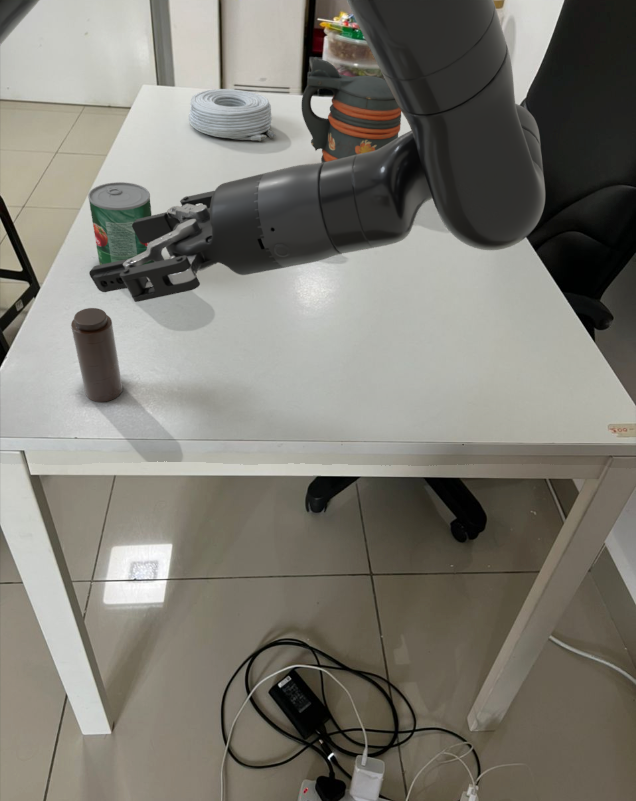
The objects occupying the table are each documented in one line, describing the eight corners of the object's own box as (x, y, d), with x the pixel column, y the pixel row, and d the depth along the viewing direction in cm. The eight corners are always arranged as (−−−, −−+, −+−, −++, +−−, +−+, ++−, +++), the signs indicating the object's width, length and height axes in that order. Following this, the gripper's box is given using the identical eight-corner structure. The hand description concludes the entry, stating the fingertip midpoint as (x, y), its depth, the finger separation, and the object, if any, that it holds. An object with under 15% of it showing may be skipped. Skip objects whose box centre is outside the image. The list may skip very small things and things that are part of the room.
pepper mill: (92, 406, 70) (76, 331, 64) (80, 385, 73) (64, 311, 66) (127, 395, 72) (116, 321, 65) (115, 375, 74) (102, 301, 68)
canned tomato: (166, 273, 92) (160, 200, 85) (114, 288, 88) (103, 212, 81) (141, 249, 96) (133, 178, 89) (90, 262, 92) (78, 188, 85)
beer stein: (299, 189, 117) (306, 70, 104) (296, 158, 128) (302, 47, 115) (401, 194, 119) (421, 78, 106) (390, 163, 130) (406, 54, 116)
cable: (277, 142, 133) (279, 112, 129) (192, 143, 130) (191, 111, 125) (263, 114, 146) (264, 85, 142) (185, 113, 142) (184, 84, 138)
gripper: (287, 141, 55) (130, 182, 60) (238, 217, 44) (54, 258, 50) (314, 221, 59) (165, 252, 65) (275, 307, 49) (102, 335, 55)
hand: (117, 255), depth 58 cm, fingers open, 8 cm apart
